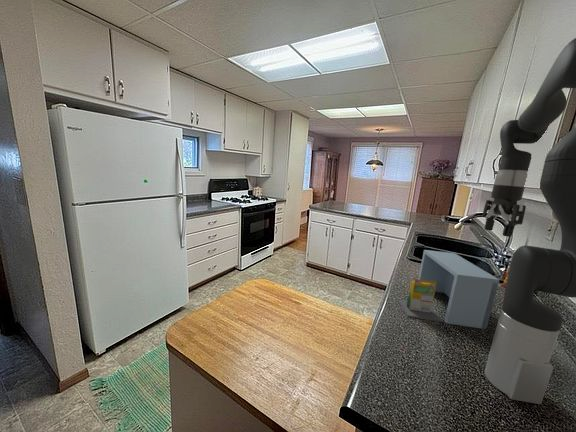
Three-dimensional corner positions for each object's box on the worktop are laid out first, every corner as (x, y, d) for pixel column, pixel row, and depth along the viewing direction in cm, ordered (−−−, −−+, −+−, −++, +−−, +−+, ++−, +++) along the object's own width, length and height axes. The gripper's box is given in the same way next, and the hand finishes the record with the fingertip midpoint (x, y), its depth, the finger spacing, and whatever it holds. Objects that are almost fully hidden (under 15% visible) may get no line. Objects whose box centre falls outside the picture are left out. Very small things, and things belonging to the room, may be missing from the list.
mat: (442, 321, 79) (442, 320, 79) (407, 316, 80) (407, 315, 80) (428, 305, 88) (428, 304, 88) (397, 301, 90) (398, 299, 90)
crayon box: (427, 308, 85) (433, 278, 83) (431, 313, 82) (437, 282, 80) (406, 305, 86) (411, 275, 84) (409, 310, 83) (415, 279, 81)
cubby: (486, 329, 77) (499, 279, 73) (446, 323, 78) (458, 274, 75) (446, 291, 101) (454, 253, 98) (416, 287, 102) (424, 249, 99)
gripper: (541, 187, 70) (527, 240, 73) (505, 184, 84) (493, 229, 87) (513, 184, 71) (500, 237, 74) (481, 182, 84) (471, 227, 87)
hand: (496, 232), depth 80 cm, fingers open, 8 cm apart
